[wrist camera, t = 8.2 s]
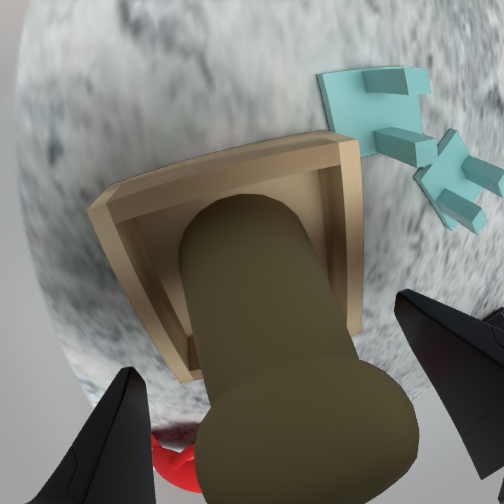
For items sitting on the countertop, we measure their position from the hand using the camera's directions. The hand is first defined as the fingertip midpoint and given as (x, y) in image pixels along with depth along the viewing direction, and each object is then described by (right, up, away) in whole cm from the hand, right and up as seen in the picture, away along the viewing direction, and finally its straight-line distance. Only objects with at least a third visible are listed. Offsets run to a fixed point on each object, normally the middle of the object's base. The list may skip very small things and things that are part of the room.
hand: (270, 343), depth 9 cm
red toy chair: (-6, -14, +14) cm, 20 cm away
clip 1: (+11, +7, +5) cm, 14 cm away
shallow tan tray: (-1, +3, +5) cm, 6 cm away
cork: (-1, +3, +5) cm, 6 cm away
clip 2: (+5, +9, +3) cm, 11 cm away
